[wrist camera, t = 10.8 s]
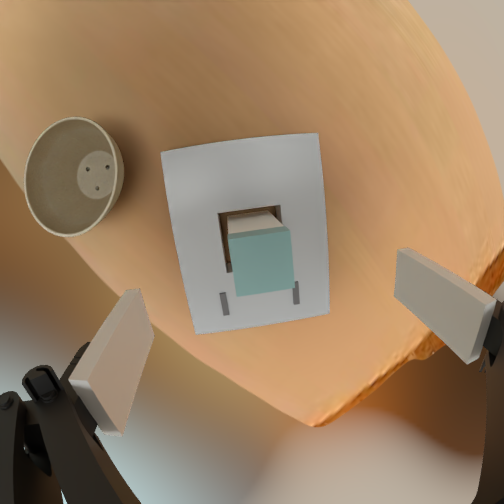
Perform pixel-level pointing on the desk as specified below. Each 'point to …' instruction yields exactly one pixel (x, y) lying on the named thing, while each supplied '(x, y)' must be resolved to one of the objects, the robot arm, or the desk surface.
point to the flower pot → (73, 176)
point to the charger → (260, 253)
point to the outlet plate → (240, 198)
